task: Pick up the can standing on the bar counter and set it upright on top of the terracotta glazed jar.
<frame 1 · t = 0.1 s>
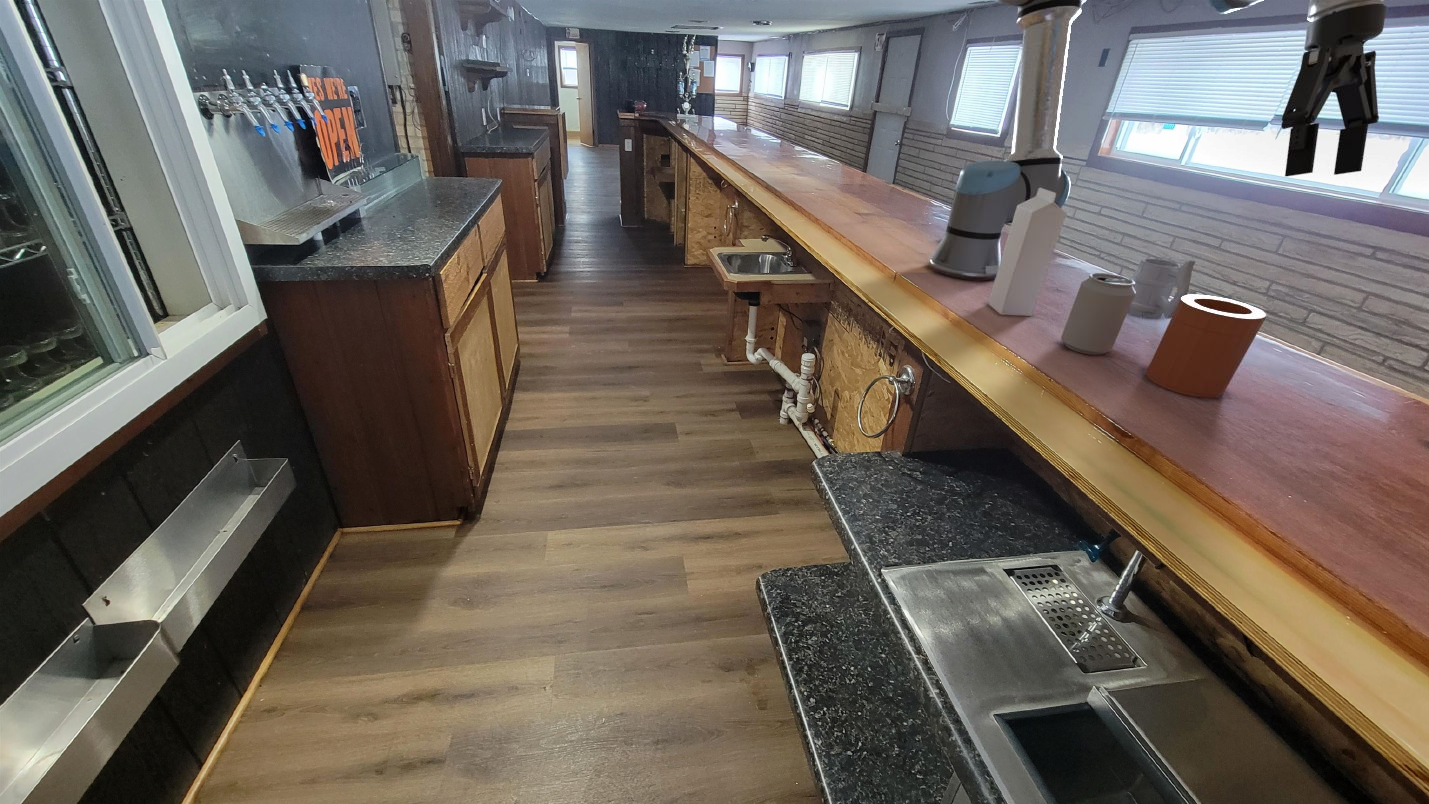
hand: (1323, 174, 83), 28 cm above the counter, tool tilted 20°, fingers open, 13 cm apart
jar: (1183, 382, 84), on the counter
mug: (1147, 316, 109), on the counter
milk: (1009, 311, 109), on the counter
can: (1083, 348, 94), on the counter
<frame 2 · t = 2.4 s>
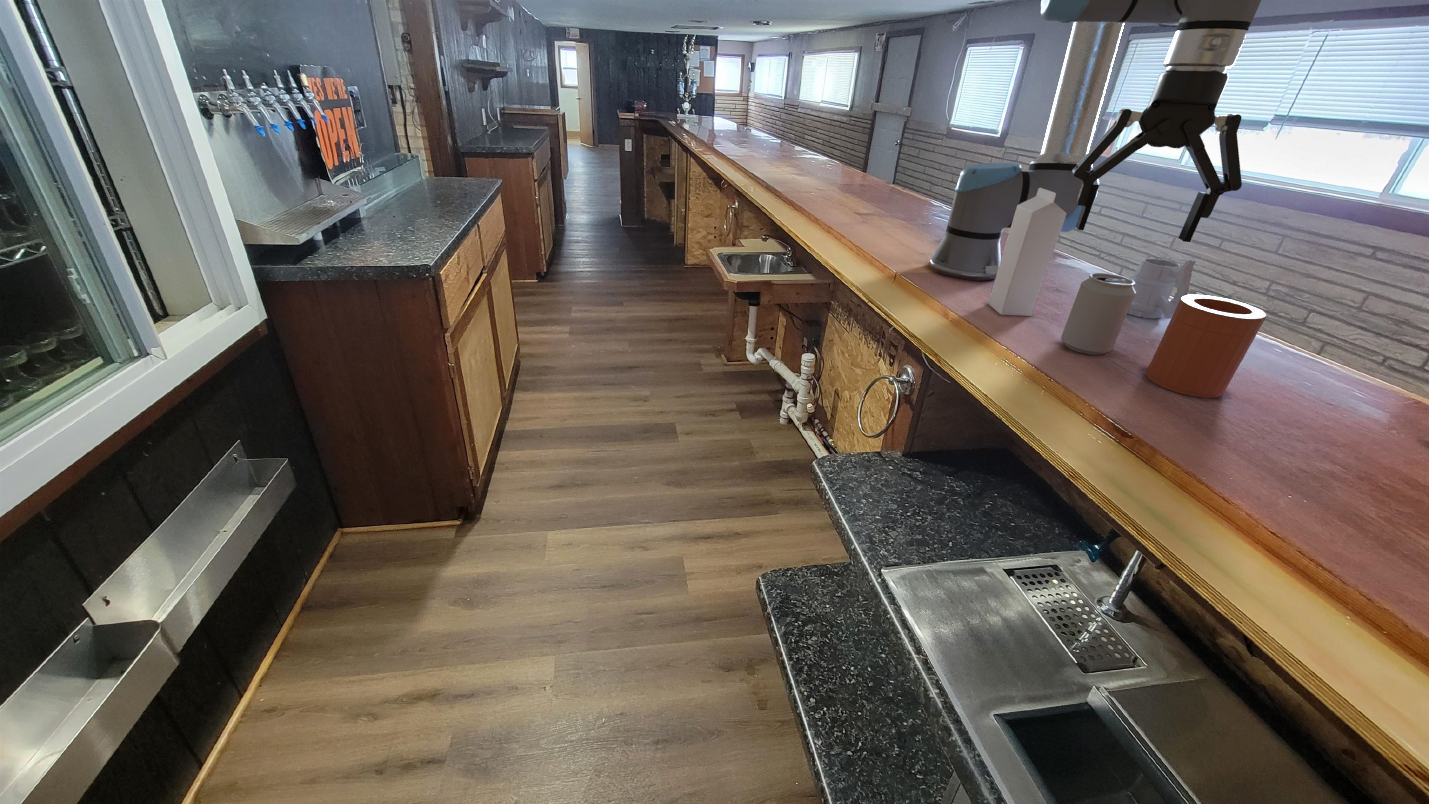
hand: (1130, 234, 85), 19 cm above the counter, tool pointing down, fingers open, 13 cm apart
nothing on the counter moved.
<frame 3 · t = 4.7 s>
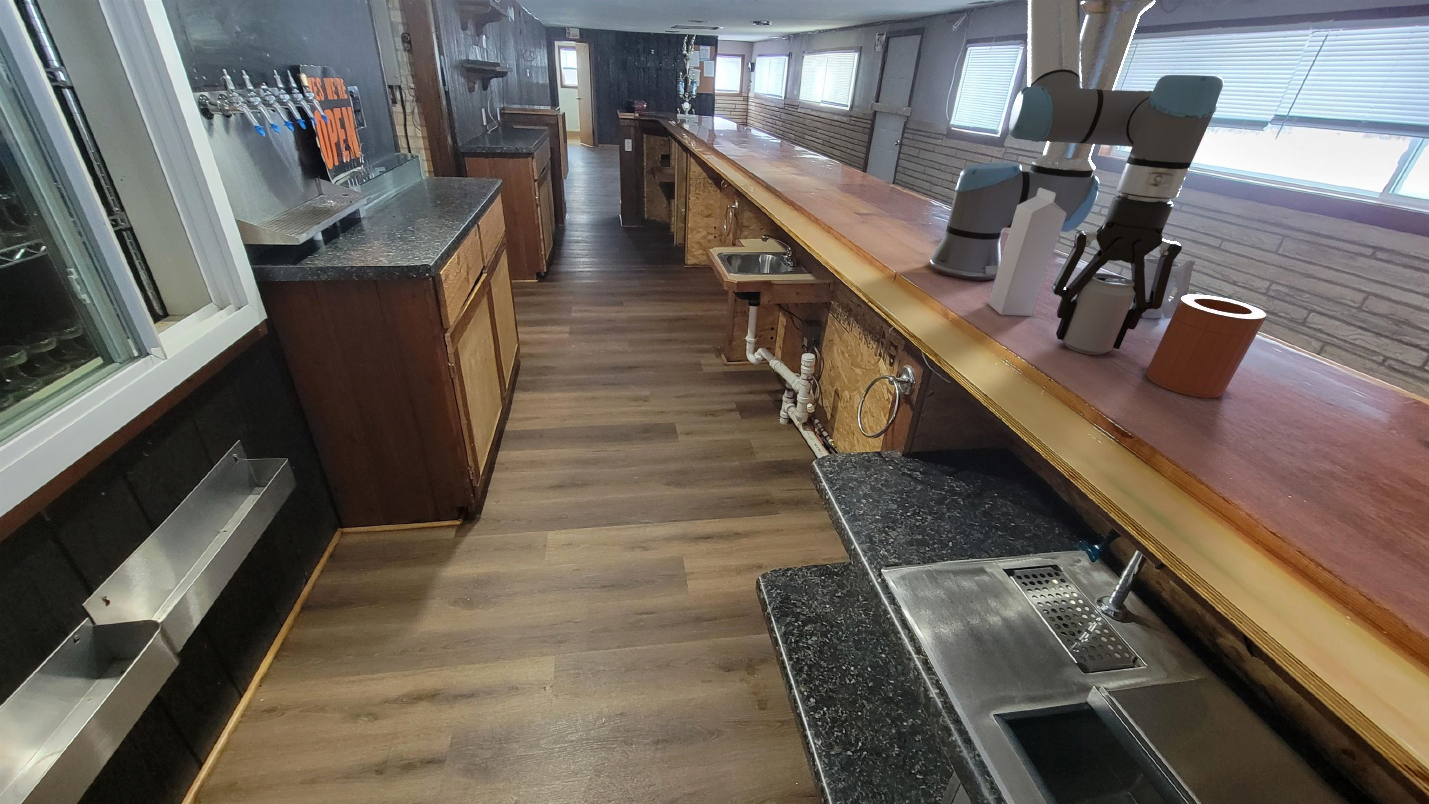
hand: (1086, 341, 93), 1 cm above the counter, tool pointing down, fingers closed on can, 7 cm apart
can: (1083, 348, 94), on the counter, touching gripper
everything else where it was.
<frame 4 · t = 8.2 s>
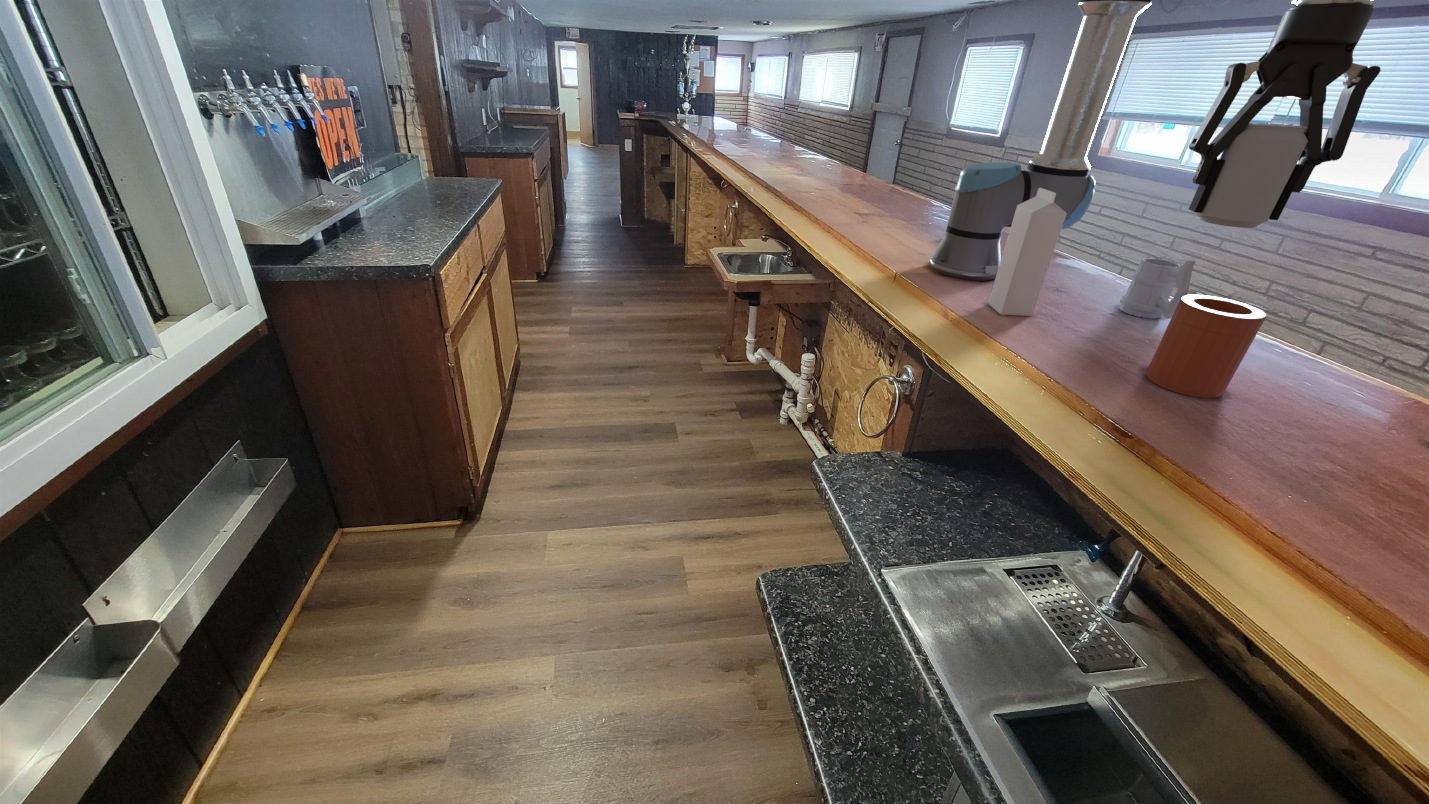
hand: (1231, 214, 74), 24 cm above the counter, tool pointing down, fingers closed on can, 7 cm apart
can: (1226, 224, 75), point 22 cm above the counter, touching gripper
everything else where it was.
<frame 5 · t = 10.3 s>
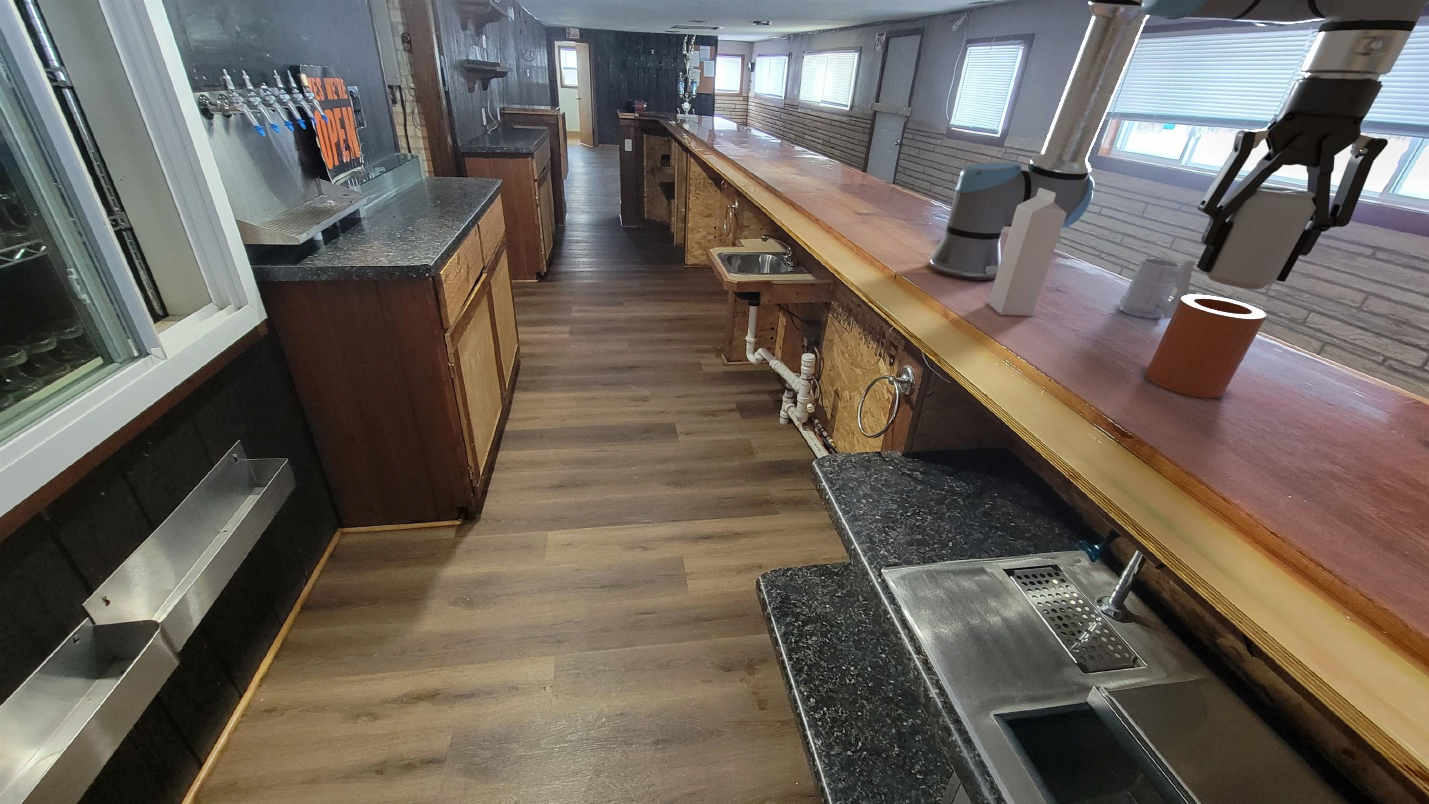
hand: (1239, 273, 75), 17 cm above the counter, tool pointing down, fingers closed on can, 7 cm apart
can: (1234, 283, 76), point 15 cm above the counter, touching gripper
everything else where it was.
when the fingers open (13 cm above the counter, at t = 11.8 s): can stays where it is, resting on jar.
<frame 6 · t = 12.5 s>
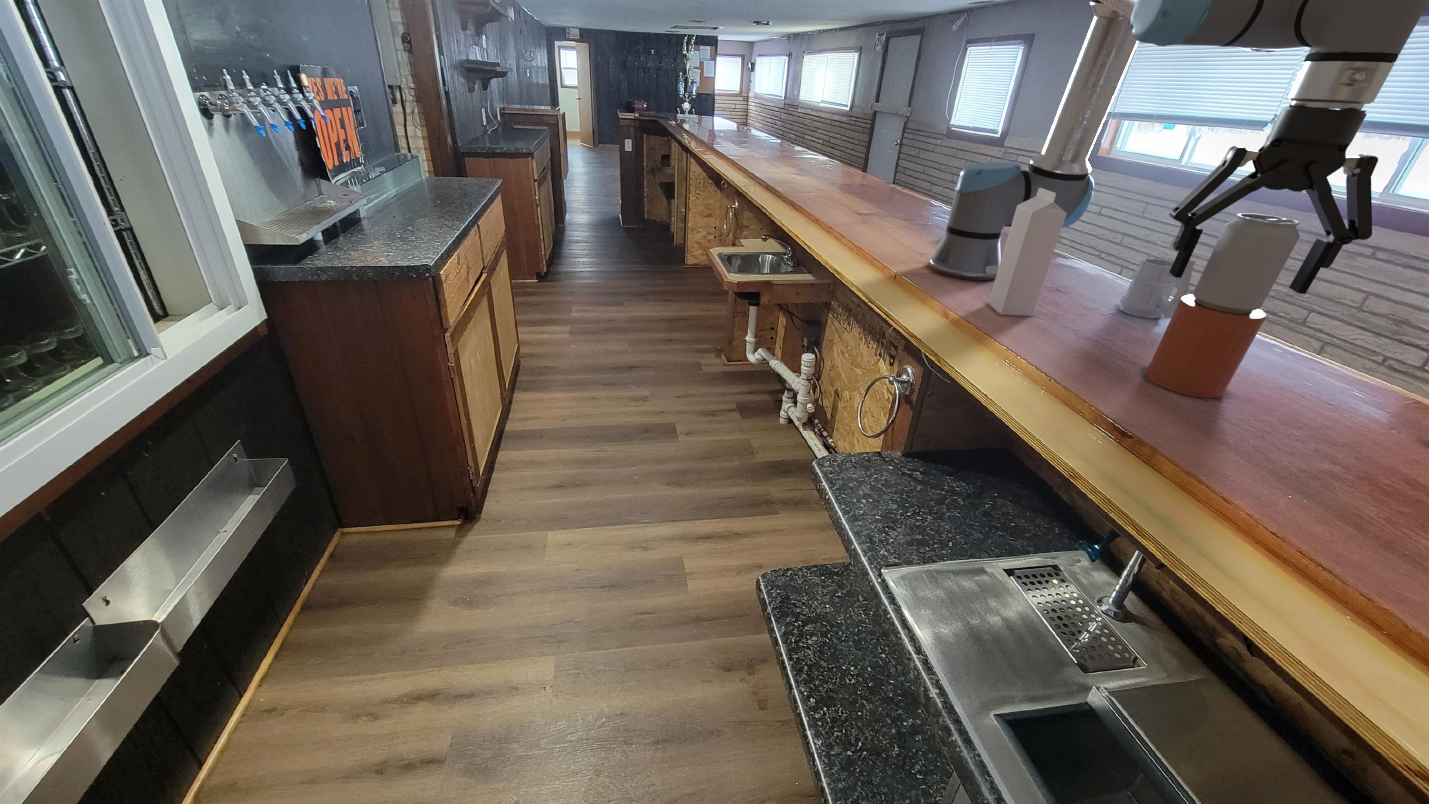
hand: (1234, 283, 76), 15 cm above the counter, tool pointing down, fingers open, 13 cm apart
can: (1222, 307, 78), point 12 cm above the counter, touching jar
everything else where it was.
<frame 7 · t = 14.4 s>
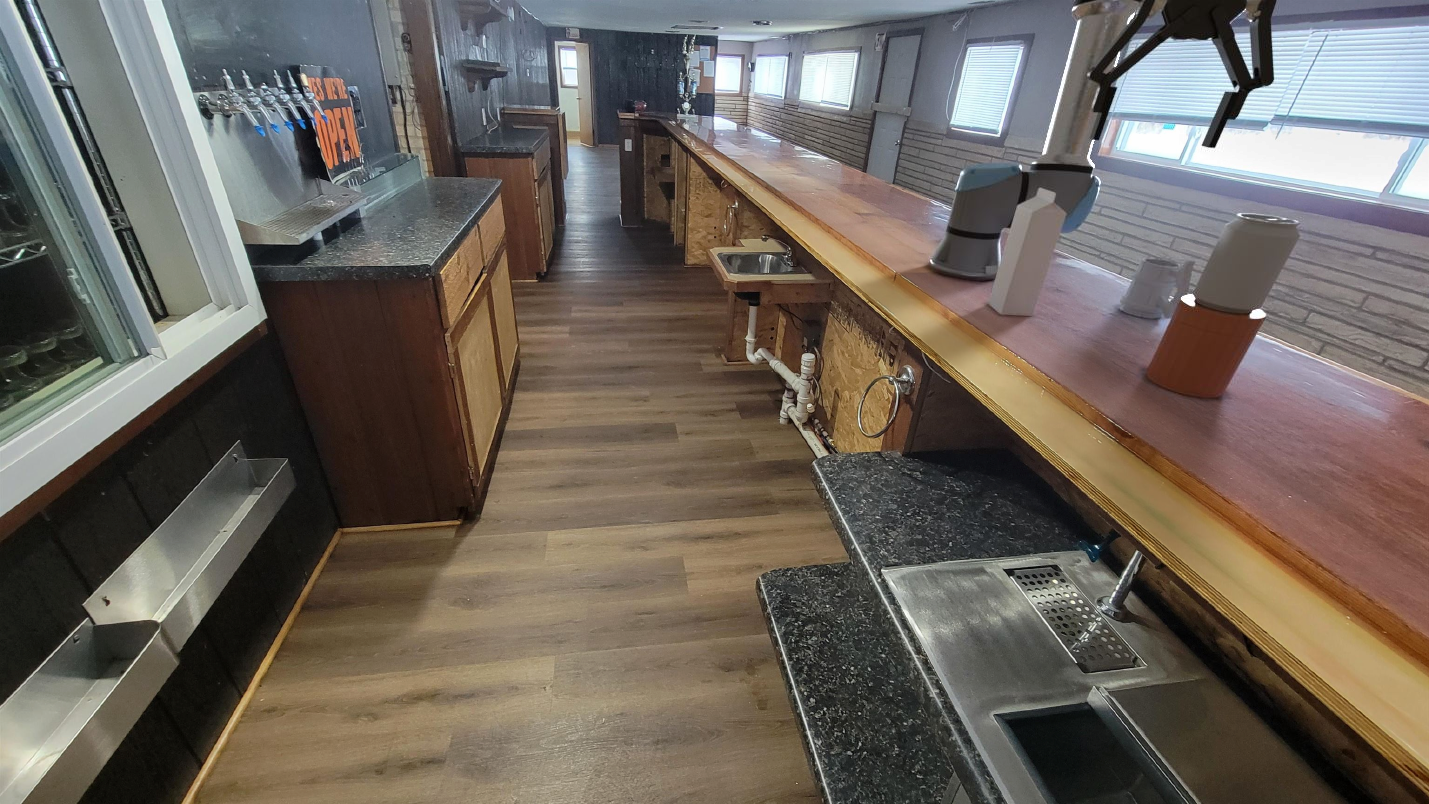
hand: (1149, 143, 78), 31 cm above the counter, tool pointing down, fingers open, 13 cm apart
nothing on the counter moved.
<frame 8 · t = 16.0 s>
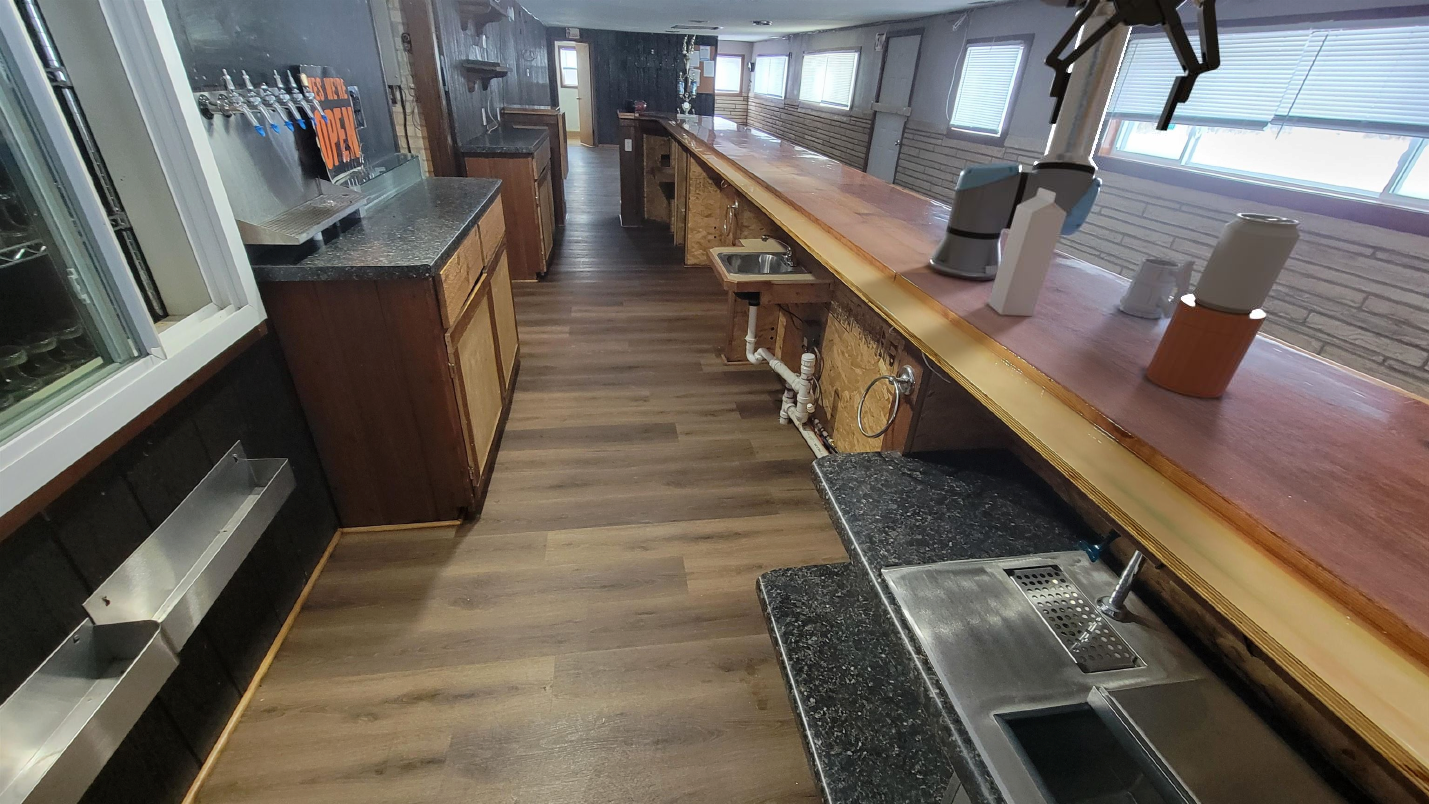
hand: (1104, 127, 80), 33 cm above the counter, tool pointing down, fingers open, 13 cm apart
nothing on the counter moved.
at the end: can 0.0 cm off-centre on the jar, point 11.8 cm above the jar's base; can tilted 0°; the gripper is holding nothing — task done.
